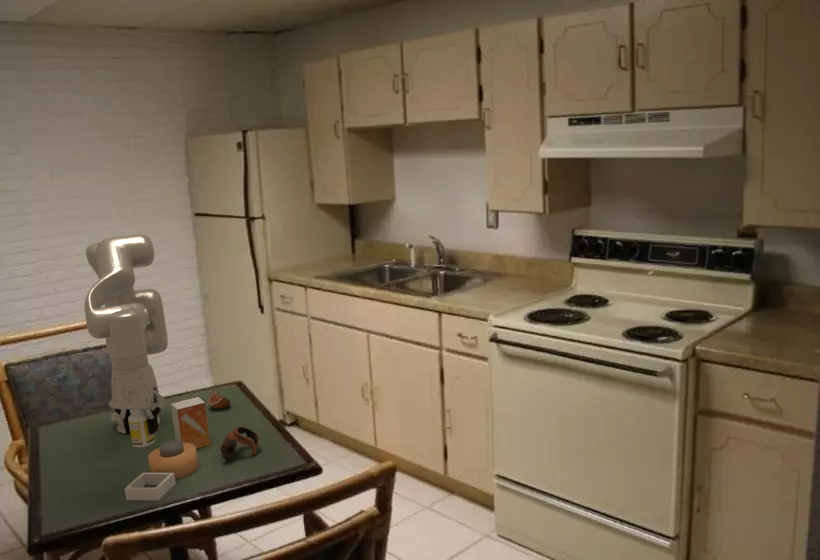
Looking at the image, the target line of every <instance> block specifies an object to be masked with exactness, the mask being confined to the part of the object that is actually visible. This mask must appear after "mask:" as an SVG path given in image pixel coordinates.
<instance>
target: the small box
mask: <svg viewBox="0 0 820 560" xmlns="http://www.w3.org/2000/svg"><path fill="white" fill-rule="evenodd" d="M206 407H207V406H206V403H205V401H204V400H203V399H201V397H199V396H197V397H193V398H187V399H184V400H181V401H177V402H173V403H170V409H171V416H172V422H173V423H172V424H173V431H174V436H175V437H174V438H175V440H178V441H182V442H183V443H190V444H193V445H195V447H196V450H197V449H201V448H203V447H204V448H205V447H209V446H211V439H210V438H211V437H210V431H209V430H210V429H209V422H208V415H207V409H206Z"/></svg>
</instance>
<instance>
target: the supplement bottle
mask: <svg viewBox="0 0 820 560" xmlns="http://www.w3.org/2000/svg"><path fill="white" fill-rule="evenodd" d="M130 413H131V415H130V416H129V417H128V422H129V428H130V434H129V435H130V439H131V443H132V446H133V447H135V448H143V447H148V446H150V445H152V444H154V443H155V441H156V435H155V433H154V434H152V435H150V434H149V430H148V424H147V419H149V417H148V415H147V413H146V411H145V409H133V410H130Z"/></svg>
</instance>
